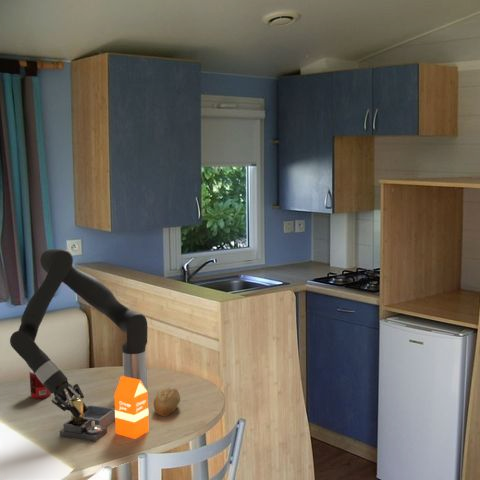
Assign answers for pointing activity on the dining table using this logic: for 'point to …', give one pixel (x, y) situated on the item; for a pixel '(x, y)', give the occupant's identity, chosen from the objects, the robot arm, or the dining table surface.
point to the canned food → (37, 387)
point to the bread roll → (166, 401)
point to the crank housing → (83, 430)
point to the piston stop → (79, 405)
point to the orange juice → (131, 408)
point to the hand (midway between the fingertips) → (82, 413)
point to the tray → (100, 415)
